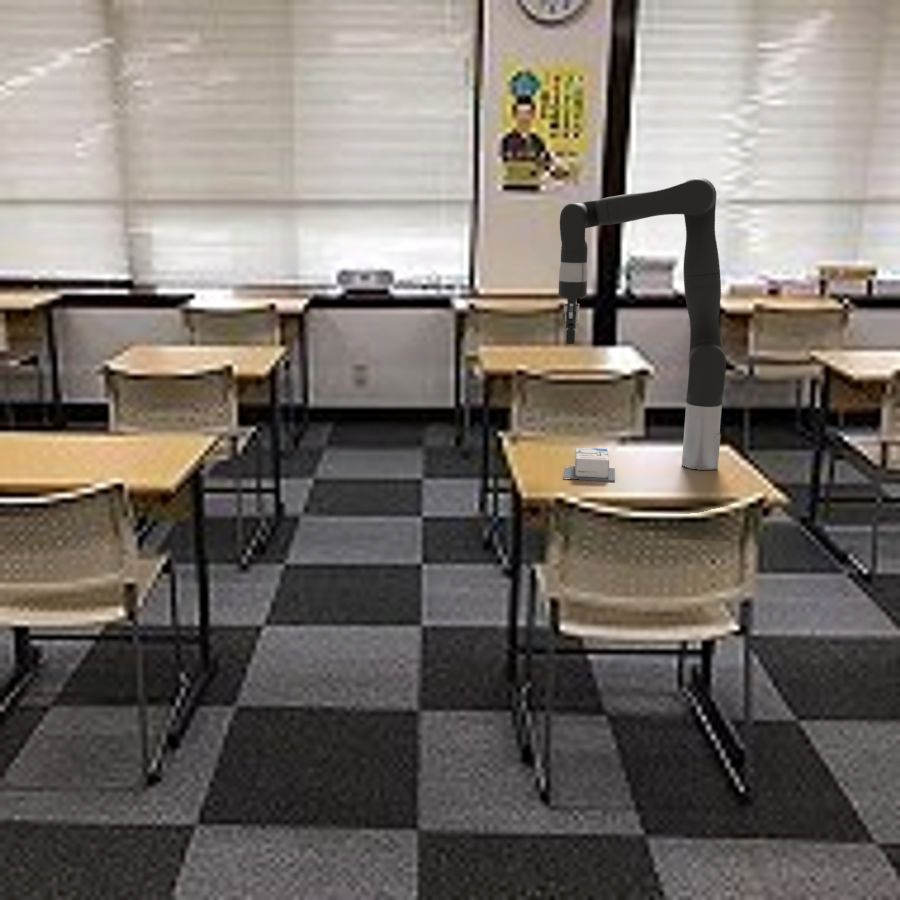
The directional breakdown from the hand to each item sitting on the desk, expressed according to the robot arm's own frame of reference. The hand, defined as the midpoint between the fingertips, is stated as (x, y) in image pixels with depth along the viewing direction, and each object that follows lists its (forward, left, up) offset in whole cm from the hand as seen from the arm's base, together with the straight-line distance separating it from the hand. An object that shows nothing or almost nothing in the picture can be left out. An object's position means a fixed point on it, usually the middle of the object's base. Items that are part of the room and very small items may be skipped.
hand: (570, 343), depth 284 cm
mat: (-7, +20, -31) cm, 38 cm away
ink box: (-7, +13, -28) cm, 32 cm away
